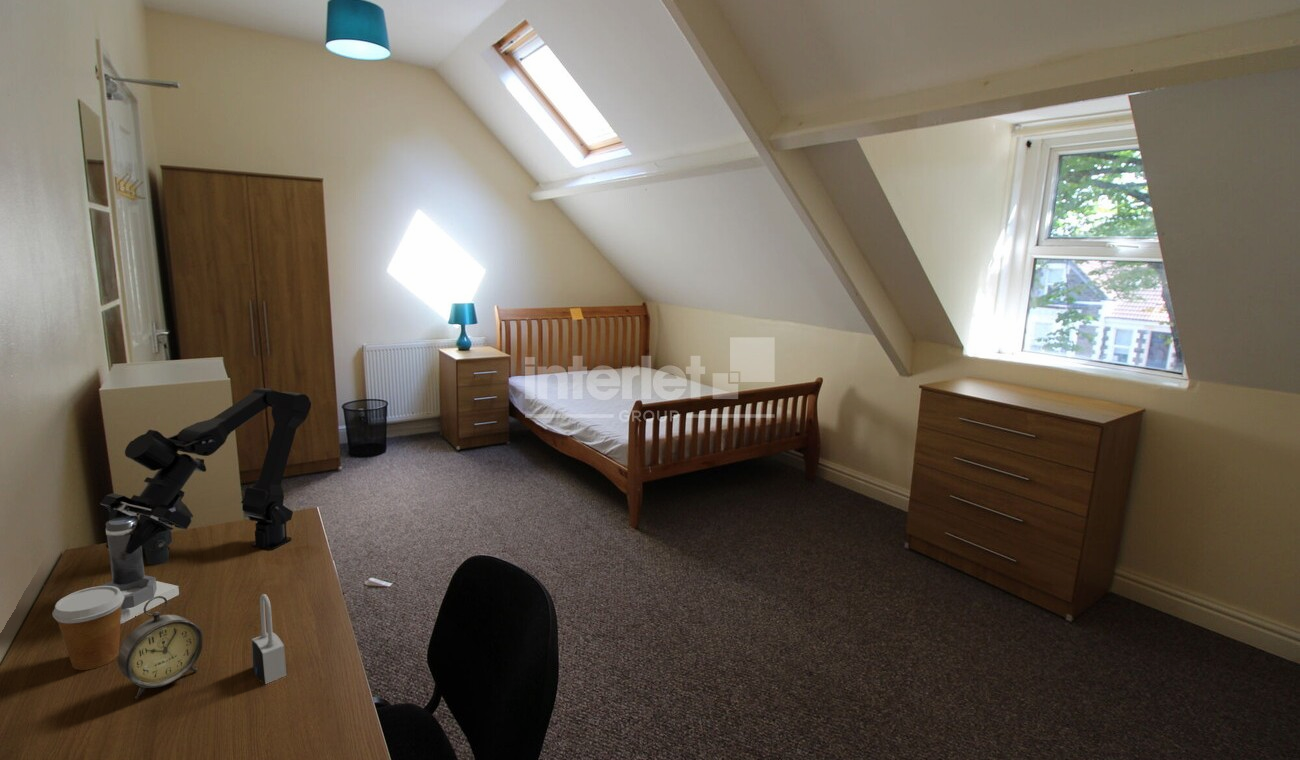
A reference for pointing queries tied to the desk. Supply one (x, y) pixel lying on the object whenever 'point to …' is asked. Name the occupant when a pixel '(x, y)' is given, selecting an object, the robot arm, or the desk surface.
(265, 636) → the padlock
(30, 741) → the desk surface
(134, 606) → the octagonal ring on plate
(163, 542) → the scope
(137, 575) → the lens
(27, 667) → the desk surface
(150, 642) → the alarm clock
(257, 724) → the desk surface
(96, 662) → the disposable coffee cup
